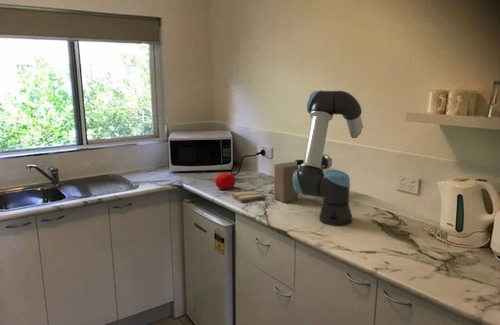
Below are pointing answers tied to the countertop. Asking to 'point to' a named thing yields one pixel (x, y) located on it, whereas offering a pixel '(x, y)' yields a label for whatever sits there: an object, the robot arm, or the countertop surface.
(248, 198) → the trivet
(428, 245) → the countertop surface
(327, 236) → the countertop surface
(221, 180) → the tomato
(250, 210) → the countertop surface
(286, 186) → the block
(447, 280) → the countertop surface
